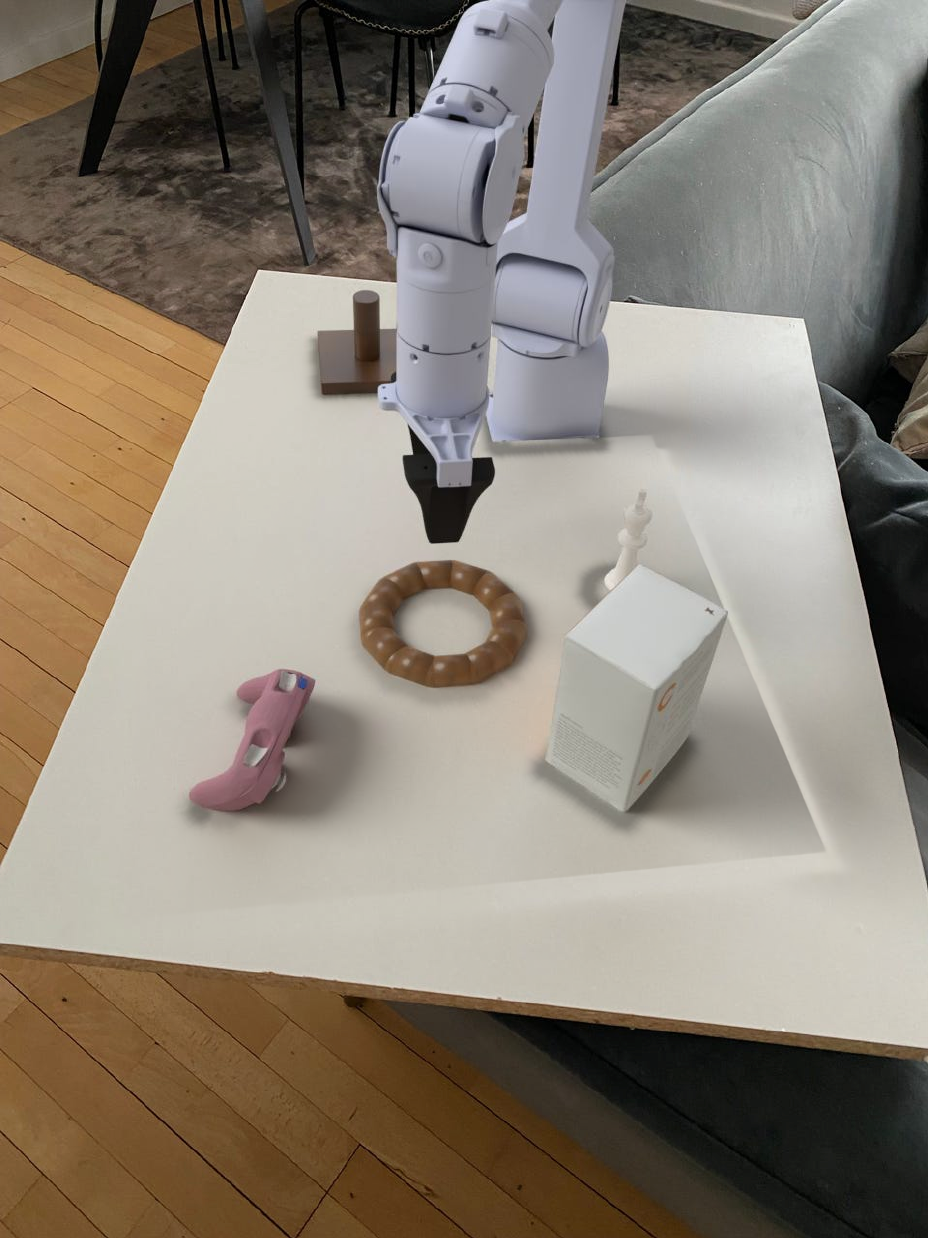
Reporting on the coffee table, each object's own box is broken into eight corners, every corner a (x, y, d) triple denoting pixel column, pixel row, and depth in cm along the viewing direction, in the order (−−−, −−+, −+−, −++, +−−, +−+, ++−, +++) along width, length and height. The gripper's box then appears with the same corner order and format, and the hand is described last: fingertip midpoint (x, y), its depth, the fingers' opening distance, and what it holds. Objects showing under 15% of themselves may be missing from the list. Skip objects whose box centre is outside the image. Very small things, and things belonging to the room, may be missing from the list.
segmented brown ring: (509, 572, 80) (511, 549, 79) (536, 690, 72) (540, 668, 71) (355, 581, 79) (354, 558, 77) (366, 703, 71) (365, 680, 69)
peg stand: (410, 338, 103) (411, 270, 97) (419, 391, 97) (421, 321, 91) (318, 341, 102) (314, 272, 96) (321, 394, 95) (317, 324, 90)
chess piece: (658, 580, 81) (684, 478, 73) (645, 623, 77) (670, 521, 70) (596, 564, 82) (616, 461, 74) (580, 606, 78) (599, 503, 71)
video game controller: (247, 840, 65) (288, 793, 60) (179, 809, 64) (216, 758, 59) (296, 718, 72) (337, 667, 67) (236, 688, 71) (273, 633, 66)
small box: (607, 697, 72) (639, 559, 63) (687, 745, 70) (732, 609, 60) (539, 770, 68) (562, 634, 58) (621, 825, 65) (660, 691, 56)
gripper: (369, 270, 67) (372, 441, 77) (387, 401, 57) (388, 578, 67) (477, 268, 68) (466, 437, 78) (513, 396, 58) (496, 572, 68)
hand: (437, 502), depth 73 cm, fingers open, 7 cm apart
